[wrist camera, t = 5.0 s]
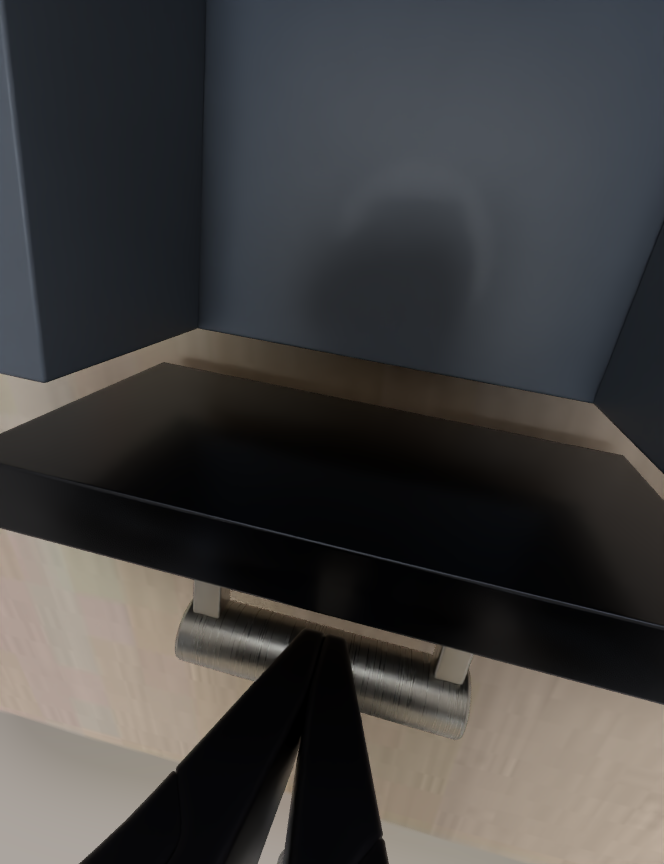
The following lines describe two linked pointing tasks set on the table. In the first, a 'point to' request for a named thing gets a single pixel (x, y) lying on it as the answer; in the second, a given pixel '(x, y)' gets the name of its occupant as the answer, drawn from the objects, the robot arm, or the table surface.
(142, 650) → the table surface
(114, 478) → the drawer
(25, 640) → the table surface
